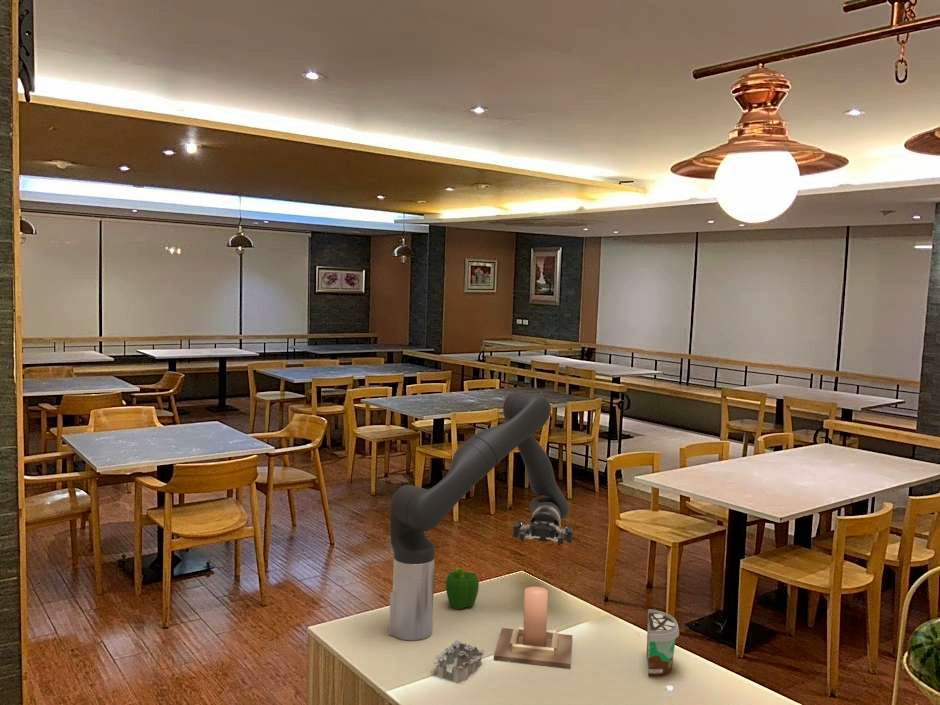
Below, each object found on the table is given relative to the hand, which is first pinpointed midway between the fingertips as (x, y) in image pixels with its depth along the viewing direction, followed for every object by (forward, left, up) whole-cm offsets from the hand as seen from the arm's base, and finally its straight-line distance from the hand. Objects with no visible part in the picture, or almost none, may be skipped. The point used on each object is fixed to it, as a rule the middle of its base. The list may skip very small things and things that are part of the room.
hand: (541, 539), depth 170 cm
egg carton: (-14, -24, -21) cm, 35 cm away
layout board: (0, -12, -21) cm, 24 cm away
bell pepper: (-20, +8, -21) cm, 30 cm away
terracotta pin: (0, -12, -20) cm, 23 cm away
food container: (+27, -14, -21) cm, 37 cm away
